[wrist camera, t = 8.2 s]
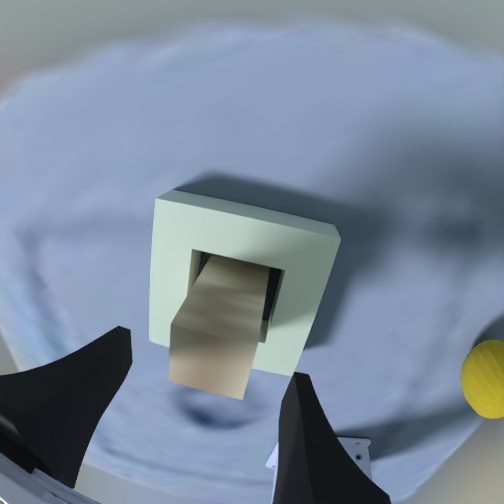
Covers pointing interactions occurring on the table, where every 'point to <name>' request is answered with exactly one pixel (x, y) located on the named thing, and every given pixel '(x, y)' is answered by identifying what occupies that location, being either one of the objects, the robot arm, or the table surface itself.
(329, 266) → the socket block
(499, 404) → the lemon
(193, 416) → the table surface
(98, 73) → the table surface
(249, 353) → the peg
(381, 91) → the table surface
